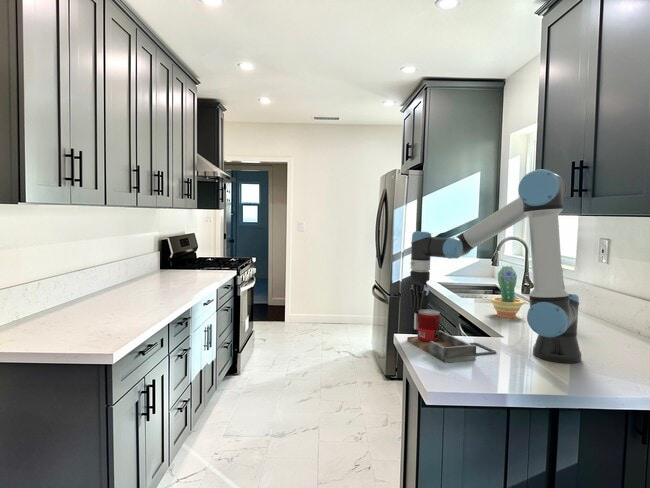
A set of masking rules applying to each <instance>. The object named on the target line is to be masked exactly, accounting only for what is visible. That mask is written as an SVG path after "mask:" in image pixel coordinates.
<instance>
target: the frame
mask: <svg viewBox="0 0 650 488" xmlns="http://www.w3.org/2000/svg"><path fill="white" fill-rule="evenodd" d="M468 343H469V344H471V345H476V346H478V347H480V348H483V349H485V350H487V351H484V352H483V351H482V352H476V356H483V355H484V356H485V355H493V354H497V351H496V350H494V349H492V348H489V347H487V346H485V345H484V344H481V343H479V342H468Z"/></svg>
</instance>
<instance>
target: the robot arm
mask: <svg viewBox="0 0 650 488" xmlns="http://www.w3.org/2000/svg"><path fill="white" fill-rule="evenodd" d="M517 190H518V195H519V197H517V198H516V199H514V200H513V201H511V202H509V203H508V204H506V205H505V206H503V207H501V208H500V209H498V210H496V211H495V212H493V213H492V214H490V215H488V216H487V217H485V218H483V220H481V221H479V222H477V223H476V224H474V225H472V226H470V227H469V228H467V230H465V231H463V232H461V233H459V235H457V236H455V237H434V236H433V235H432V232H430V231H414V232H413V233H412V234H411V242H410V243H411V250H410V251H411V254H410V255H411V257H410V273H409V274H410V275H409V277H410V278H409V279H410V280H411V281H412V284H411V285H409V286H408V290H409V294H410V295H409V297H410V309H411V310H412V311H413V313H414V314H413V317H414V318H413V329H414V330H417V331H418V313H419V310H421V309H428V303H429V297H430V294H431V292H432V291H431V289H429V290H428V283H427V282H429V281H430V279H431V277H430V274H431V271H430V270H431V257H433V258H445V259H460V257H462V256H465V255H467V254H469V253H470V252H471V251H472V250H473V249H475V248H476V247H478V246H479V245H481V244H483V243H485V242H487V241H488V240H490V239H492V238H493V237H495V236H497V235H499V234H500V233H503V231H505V230H507V229H508V228H511V227H512V226H514V225H516V224H518V223H519V222H521V221H523V220H524V219H526V218H528V221H529V222H528V223H529V237H530V239H529V240H530V253H531V267H532V269H531V270H532V283H533V290H532V291H531V292H530V293H529V294H528V297H529V308H528V311H527V313H526V320H527V324H528V326H529V327H530V329H531V330H532V331H533V332H534V333H535V334H537V338H536V340H535V344H534V345H533V346H532V347H533V348H532V354H533V355H534V356H536V357H537V358H539V359H542V360H546V361H549V362H555V363H561V364H576V363H577V364H578V363H580V362H581V361H582V352H581V351H580V346H579V342H578V338H577V337H578V336H577V335H578V322H579V307H580V301H579V298H580V297H579V296H578V295H577V294H576V293H569V292H567V291H566V289H565V290H564V289H563V281H564V280H563V281H562V270H563V266H562V254H561V241H560V239H561V238H560V223H559V215H560V214H561V212H562V211H563V210H564V206H563V205H564V203H563V200H564V198H565V197H566V194H567V191H568V187H567V183H566V181H565V179H564V178H563V177H562V176H560V174H557V173H554V172H553V171H551V170H548V169H535V170H532V171H530V172H528V173H527V174H525V175H524V176H523V177H522V178H521V180H519V183H518V188H517Z"/></svg>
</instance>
